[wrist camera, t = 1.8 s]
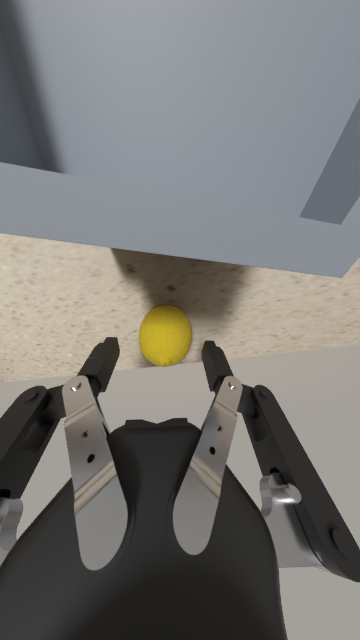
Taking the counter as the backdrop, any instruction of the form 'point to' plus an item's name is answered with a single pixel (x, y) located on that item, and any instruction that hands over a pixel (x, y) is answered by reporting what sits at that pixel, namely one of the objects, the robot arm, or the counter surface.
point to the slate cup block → (185, 128)
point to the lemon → (165, 335)
